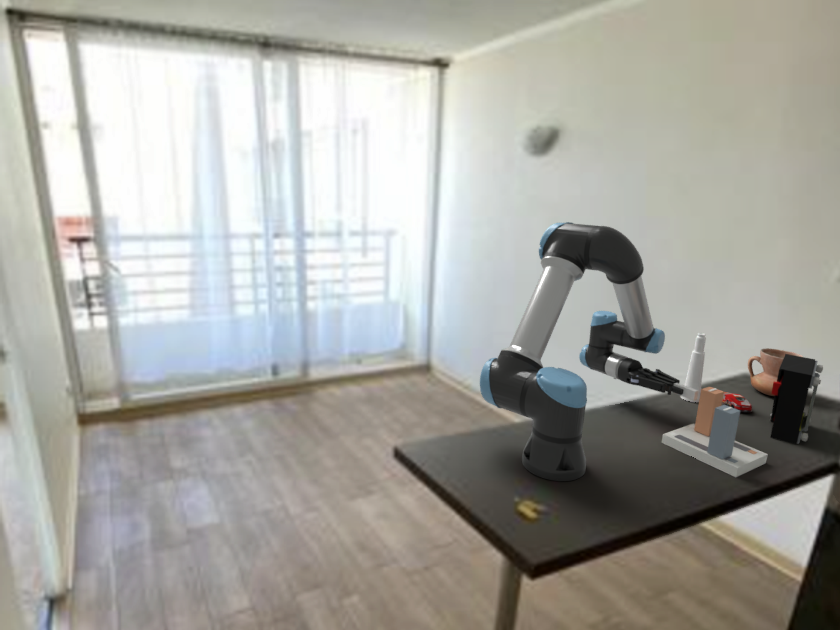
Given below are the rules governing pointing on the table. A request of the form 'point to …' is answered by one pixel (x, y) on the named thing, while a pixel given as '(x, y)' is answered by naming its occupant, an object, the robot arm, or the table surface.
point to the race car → (737, 402)
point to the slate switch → (723, 431)
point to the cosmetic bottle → (696, 366)
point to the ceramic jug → (767, 369)
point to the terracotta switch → (707, 409)
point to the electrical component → (793, 398)
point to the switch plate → (697, 448)
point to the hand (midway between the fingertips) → (696, 395)
